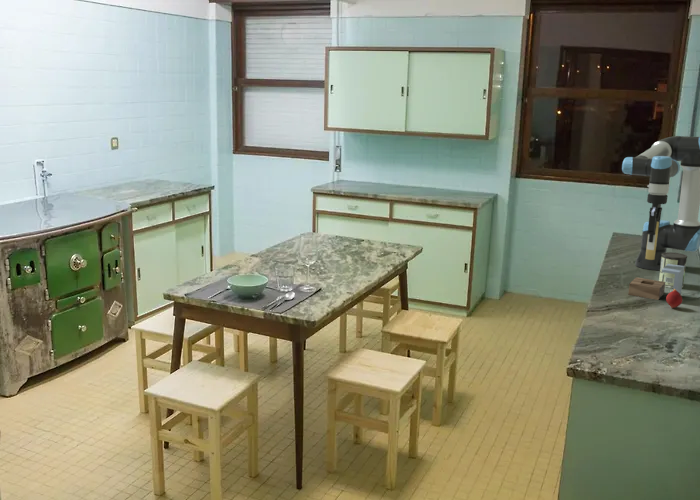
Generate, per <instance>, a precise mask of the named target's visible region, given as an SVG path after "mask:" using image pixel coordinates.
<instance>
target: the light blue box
mask: <svg viewBox="0 0 700 500" xmlns="http://www.w3.org/2000/svg"><path fill="white" fill-rule="evenodd" d="M684 267H685V266H680V265H673V264H667V265H666V266H665V267H664V268H663V269H662V272H665V273H671V274H675V278H674V286H673V288H672V290H673V289H676V290H677V291H678V292H679V293H680V294H681V295H682V288H683V287H682V283H683V275H684ZM685 268H686V267H685ZM684 276H685V275H684ZM683 284H684V283H683Z"/></svg>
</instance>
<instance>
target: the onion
mask: <svg viewBox="0 0 700 500" xmlns="http://www.w3.org/2000/svg"><path fill="white" fill-rule="evenodd" d="M665 301H666V303H667V304H668V306H670V307H671V308H672V309H675V308H678V307H680V305H681V304H682V303H683V297H682V293H681V294H680V293H679V292H678V291H677V290H676V289H673V288H672V291H670V292H669V293H668V294H667V295H666V298H665Z"/></svg>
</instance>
